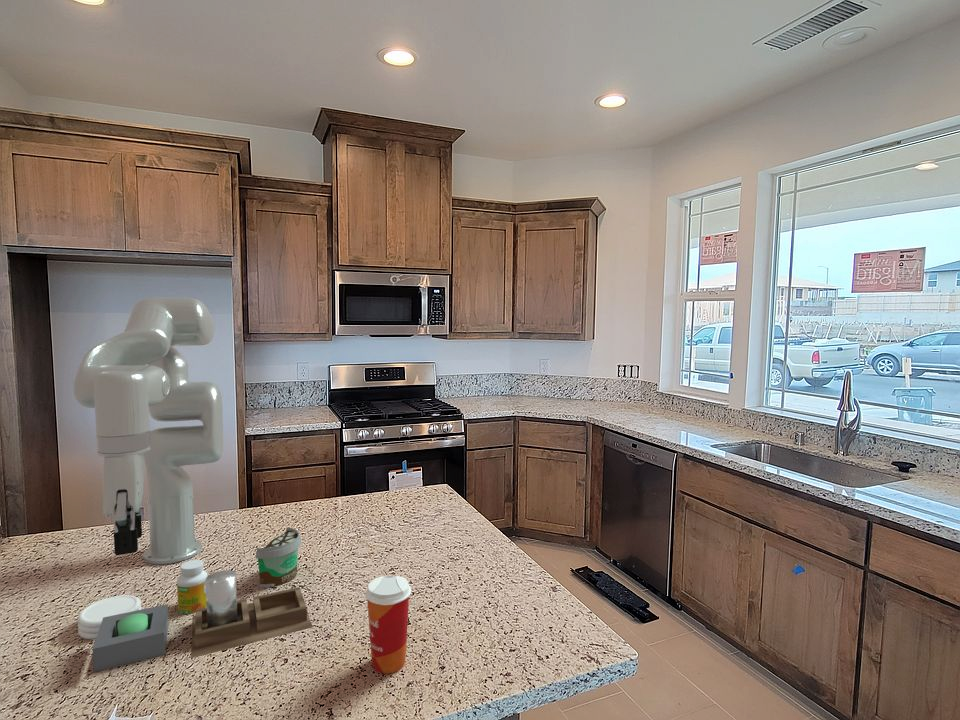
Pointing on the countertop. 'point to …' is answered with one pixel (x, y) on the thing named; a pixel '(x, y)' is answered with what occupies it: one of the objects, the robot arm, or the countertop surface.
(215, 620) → the billet
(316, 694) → the countertop surface
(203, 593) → the supplement bottle
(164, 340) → the robot arm
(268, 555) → the food container
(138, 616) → the button
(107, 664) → the gray square holder
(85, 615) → the round white lidded container
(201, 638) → the double slot desk organizer
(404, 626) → the paper cup
